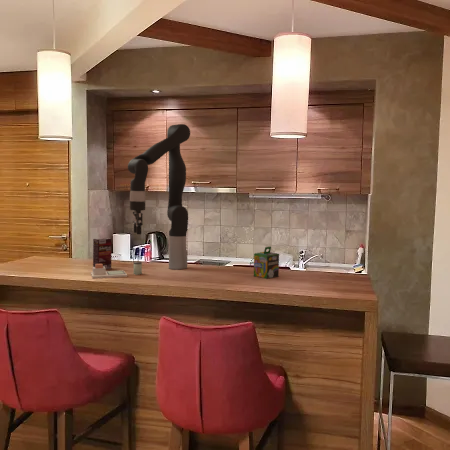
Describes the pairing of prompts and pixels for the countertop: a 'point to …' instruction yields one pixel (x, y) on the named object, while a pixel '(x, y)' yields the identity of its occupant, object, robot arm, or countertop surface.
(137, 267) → the cylinder
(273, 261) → the chalk box
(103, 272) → the button housing
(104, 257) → the supplement box
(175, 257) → the robot arm
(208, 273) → the countertop surface
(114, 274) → the white flat panel
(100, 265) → the button
